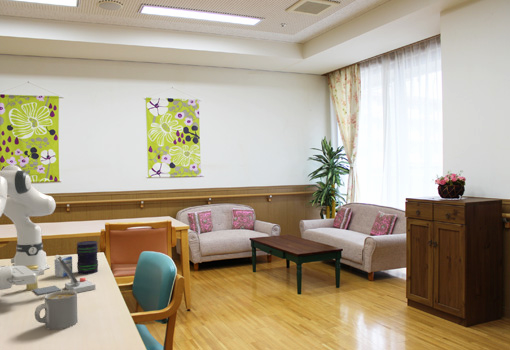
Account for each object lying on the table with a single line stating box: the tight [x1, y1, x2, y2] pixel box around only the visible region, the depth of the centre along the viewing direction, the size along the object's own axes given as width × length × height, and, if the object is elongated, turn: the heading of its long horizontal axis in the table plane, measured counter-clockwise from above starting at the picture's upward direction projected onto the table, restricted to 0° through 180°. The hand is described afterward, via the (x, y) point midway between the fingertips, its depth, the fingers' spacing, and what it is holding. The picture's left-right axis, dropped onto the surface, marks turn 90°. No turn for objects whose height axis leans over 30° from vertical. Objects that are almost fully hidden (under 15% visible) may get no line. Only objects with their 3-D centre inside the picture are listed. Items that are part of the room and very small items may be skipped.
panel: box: [64, 277, 96, 294], centre depth 191 cm, size 12×9×3 cm
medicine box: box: [54, 255, 73, 278], centre depth 216 cm, size 8×4×9 cm, turn 168°
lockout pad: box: [32, 285, 62, 296], centre depth 188 cm, size 9×9×1 cm
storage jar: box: [76, 240, 99, 275], centre depth 221 cm, size 10×10×15 cm
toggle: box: [54, 254, 80, 286], centre depth 187 cm, size 5×2×15 cm
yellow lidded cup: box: [25, 265, 39, 291], centre depth 192 cm, size 5×5×10 cm
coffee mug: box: [34, 290, 79, 330], centre depth 147 cm, size 13×10×10 cm
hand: (43, 271), depth 181 cm, fingers closed
